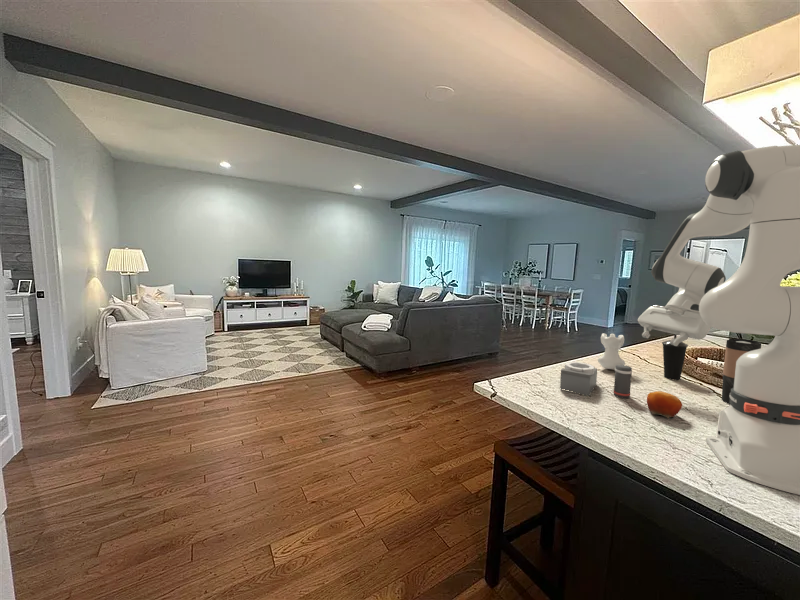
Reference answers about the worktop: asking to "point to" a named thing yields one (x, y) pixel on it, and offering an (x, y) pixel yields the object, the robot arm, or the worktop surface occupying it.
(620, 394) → the lens
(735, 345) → the travel mug
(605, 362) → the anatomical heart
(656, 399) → the fruit
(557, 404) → the worktop surface
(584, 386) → the grey block with hole
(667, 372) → the drinking cup
